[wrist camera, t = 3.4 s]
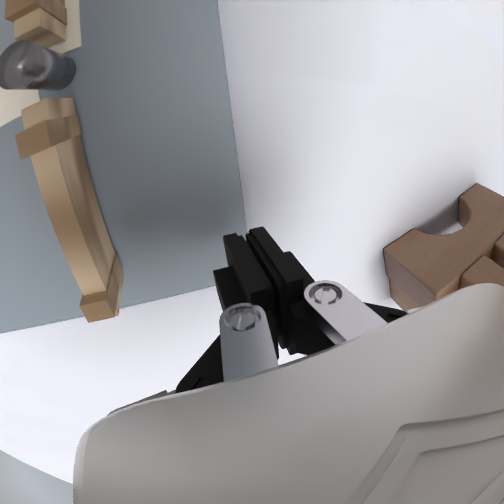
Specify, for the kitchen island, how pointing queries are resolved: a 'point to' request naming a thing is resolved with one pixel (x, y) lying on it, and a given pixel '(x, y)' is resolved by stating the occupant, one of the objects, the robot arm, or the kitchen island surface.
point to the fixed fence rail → (38, 20)
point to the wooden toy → (450, 253)
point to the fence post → (34, 68)
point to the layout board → (128, 157)
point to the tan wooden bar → (72, 203)
